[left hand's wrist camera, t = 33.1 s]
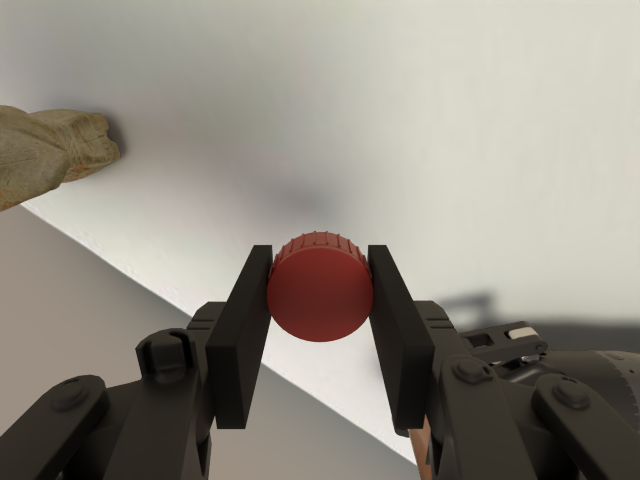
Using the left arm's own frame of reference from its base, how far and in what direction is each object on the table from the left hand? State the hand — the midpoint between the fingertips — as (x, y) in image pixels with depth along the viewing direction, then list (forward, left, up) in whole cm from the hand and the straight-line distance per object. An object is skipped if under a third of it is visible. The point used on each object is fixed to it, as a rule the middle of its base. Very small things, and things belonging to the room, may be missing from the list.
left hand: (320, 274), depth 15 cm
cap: (0, 0, +2) cm, 2 cm away
